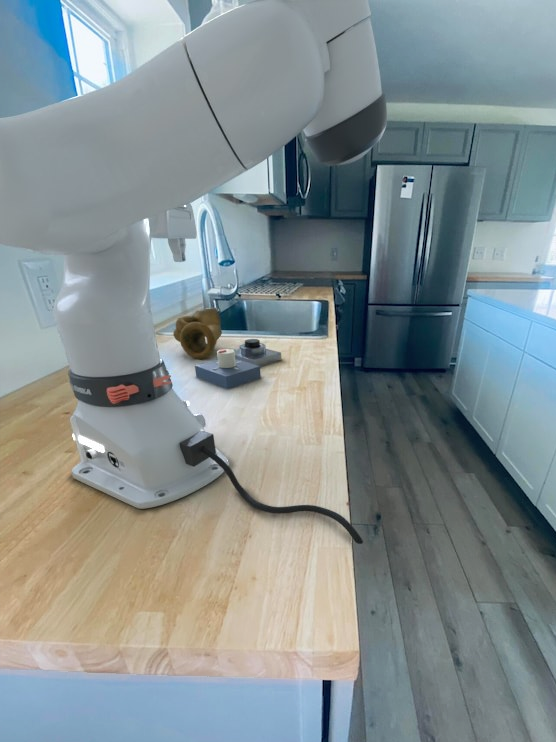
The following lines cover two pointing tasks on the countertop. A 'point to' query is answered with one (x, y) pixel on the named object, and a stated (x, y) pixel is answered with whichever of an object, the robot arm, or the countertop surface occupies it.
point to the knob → (226, 358)
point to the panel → (228, 373)
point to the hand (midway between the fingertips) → (180, 261)
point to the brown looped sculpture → (198, 332)
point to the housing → (257, 355)
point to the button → (252, 343)
